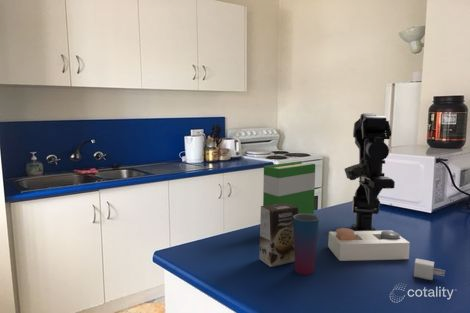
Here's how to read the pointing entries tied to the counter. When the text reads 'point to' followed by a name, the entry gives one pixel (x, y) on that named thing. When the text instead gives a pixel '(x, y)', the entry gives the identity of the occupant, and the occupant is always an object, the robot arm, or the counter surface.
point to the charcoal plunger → (389, 235)
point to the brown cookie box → (277, 234)
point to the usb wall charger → (426, 269)
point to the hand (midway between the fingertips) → (370, 204)
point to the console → (368, 247)
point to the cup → (305, 242)
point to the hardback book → (290, 185)
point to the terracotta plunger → (345, 234)
